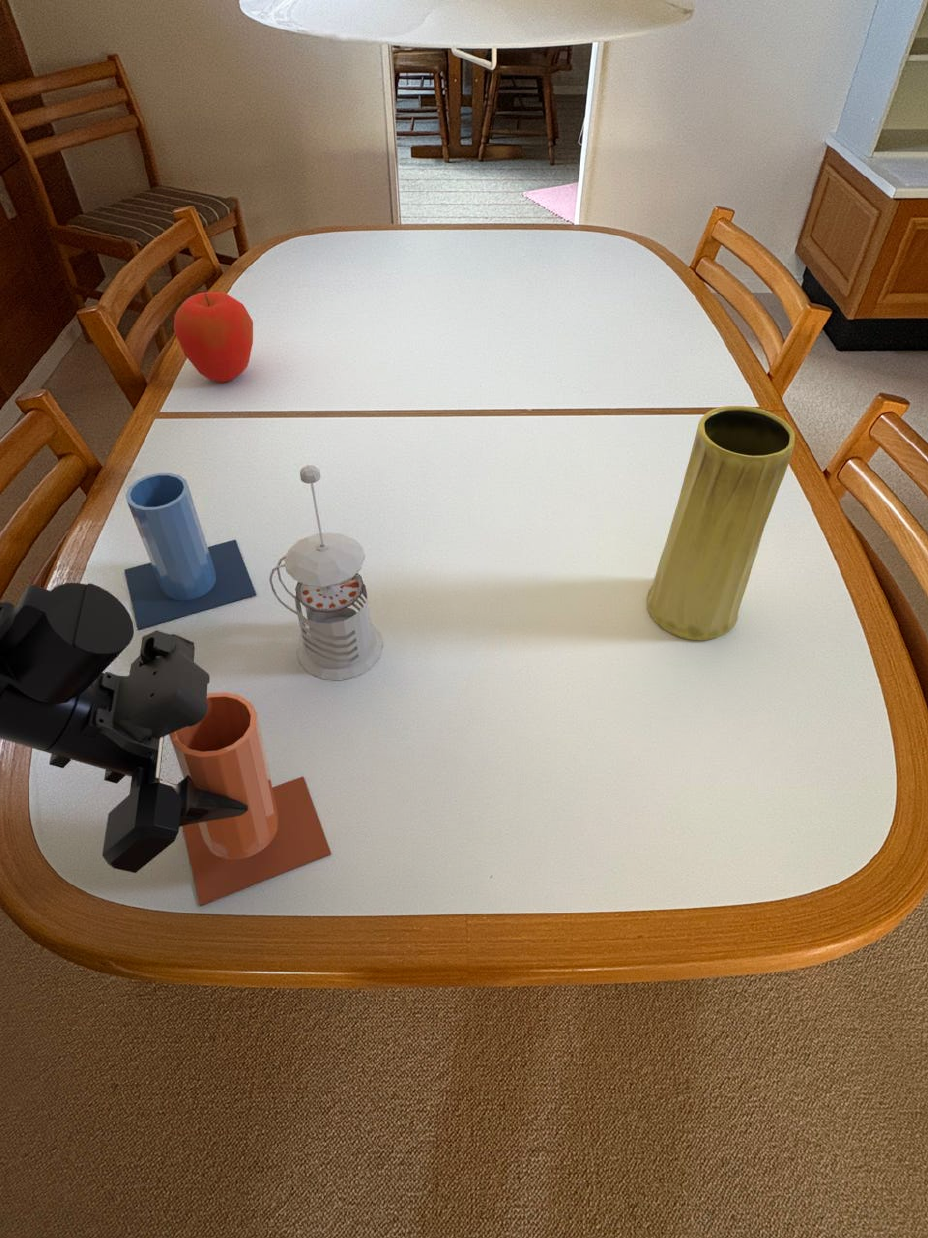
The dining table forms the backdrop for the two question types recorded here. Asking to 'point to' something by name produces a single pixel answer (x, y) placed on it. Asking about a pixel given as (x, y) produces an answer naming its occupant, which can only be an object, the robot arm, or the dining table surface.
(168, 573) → the blue tumbler
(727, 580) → the vase
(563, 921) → the dining table surface
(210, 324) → the apple
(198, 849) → the clay pad
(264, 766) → the terracotta tumbler
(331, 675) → the french press
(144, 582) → the blue pad
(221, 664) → the dining table surface
